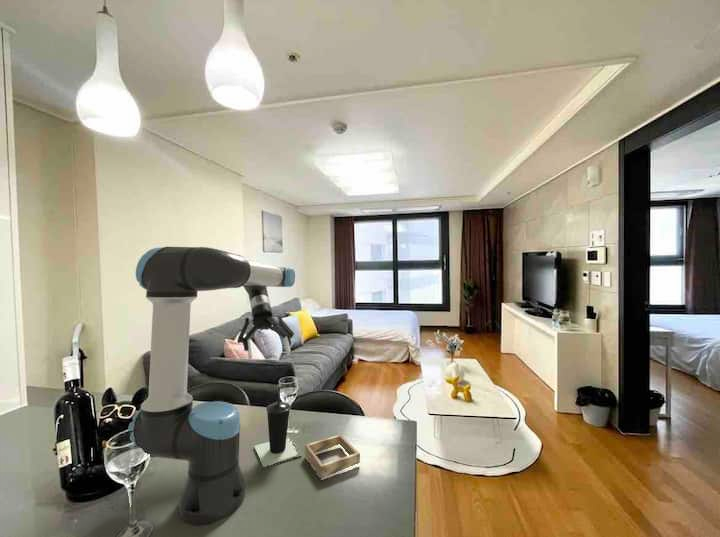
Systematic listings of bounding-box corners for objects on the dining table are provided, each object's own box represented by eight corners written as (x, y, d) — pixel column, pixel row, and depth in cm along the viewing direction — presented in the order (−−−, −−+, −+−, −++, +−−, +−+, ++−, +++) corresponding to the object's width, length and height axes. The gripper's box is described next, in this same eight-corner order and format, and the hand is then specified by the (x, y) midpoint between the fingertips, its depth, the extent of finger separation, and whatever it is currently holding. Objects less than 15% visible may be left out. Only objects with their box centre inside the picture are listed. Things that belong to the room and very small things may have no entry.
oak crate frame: (321, 481, 86) (321, 466, 86) (304, 457, 97) (305, 444, 97) (359, 467, 92) (359, 453, 92) (340, 446, 103) (340, 434, 103)
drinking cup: (286, 456, 95) (287, 392, 96) (261, 455, 96) (263, 391, 96) (292, 443, 103) (293, 383, 103) (270, 442, 103) (271, 382, 104)
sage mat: (262, 468, 91) (263, 465, 91) (254, 448, 101) (254, 445, 101) (301, 456, 97) (301, 453, 97) (289, 438, 107) (289, 436, 108)
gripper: (289, 313, 131) (301, 357, 118) (226, 316, 118) (231, 366, 105) (293, 302, 126) (306, 346, 113) (228, 304, 114) (234, 353, 100)
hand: (270, 355), depth 109 cm, fingers open, 13 cm apart
